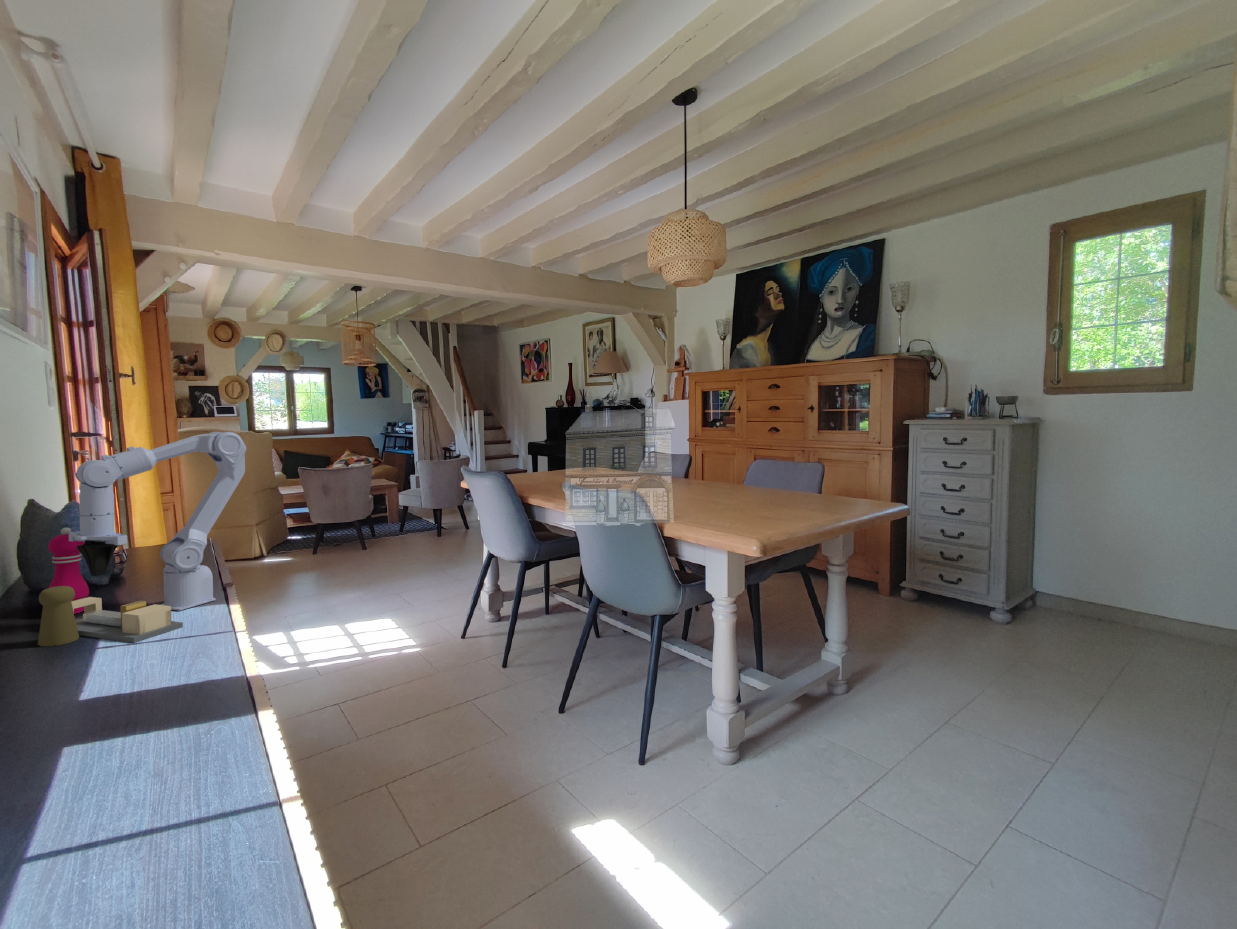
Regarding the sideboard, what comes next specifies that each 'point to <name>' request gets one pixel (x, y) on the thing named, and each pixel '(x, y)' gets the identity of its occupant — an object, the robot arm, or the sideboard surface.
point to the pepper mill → (68, 565)
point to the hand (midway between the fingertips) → (98, 574)
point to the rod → (111, 614)
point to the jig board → (127, 622)
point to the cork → (57, 617)
